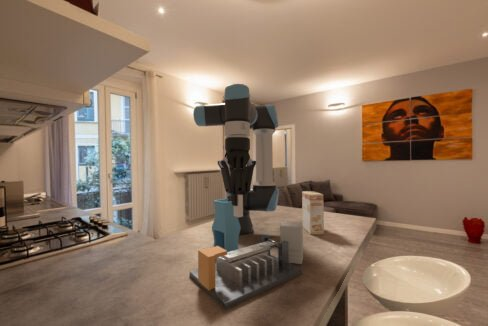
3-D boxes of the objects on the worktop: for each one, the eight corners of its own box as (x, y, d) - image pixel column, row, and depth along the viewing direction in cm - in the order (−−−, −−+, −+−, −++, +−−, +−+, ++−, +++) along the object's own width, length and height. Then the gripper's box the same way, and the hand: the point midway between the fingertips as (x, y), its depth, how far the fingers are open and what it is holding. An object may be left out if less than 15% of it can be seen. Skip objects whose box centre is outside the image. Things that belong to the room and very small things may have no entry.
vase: (240, 251, 85) (240, 200, 86) (225, 258, 80) (225, 202, 80) (227, 247, 91) (226, 198, 91) (211, 252, 85) (211, 200, 85)
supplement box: (303, 256, 81) (303, 221, 81) (302, 264, 74) (301, 227, 74) (283, 253, 83) (283, 220, 83) (280, 262, 76) (279, 225, 76)
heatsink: (189, 276, 66) (189, 247, 67) (259, 253, 83) (259, 231, 84) (225, 310, 51) (224, 272, 51) (302, 273, 67) (301, 245, 68)
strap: (219, 257, 65) (219, 251, 65) (269, 242, 77) (269, 238, 77) (231, 264, 60) (231, 258, 60) (282, 247, 72) (282, 242, 72)
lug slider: (198, 280, 61) (198, 250, 61) (217, 274, 64) (216, 245, 64) (208, 290, 56) (208, 257, 56) (228, 282, 59) (228, 251, 60)
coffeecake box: (324, 234, 106) (324, 194, 106) (309, 234, 106) (309, 194, 107) (315, 226, 121) (314, 191, 121) (302, 226, 121) (301, 191, 122)
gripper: (225, 134, 59) (226, 222, 59) (261, 137, 67) (262, 215, 67) (212, 137, 65) (212, 217, 65) (246, 140, 73) (247, 211, 73)
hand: (238, 216), depth 66 cm, fingers closed
